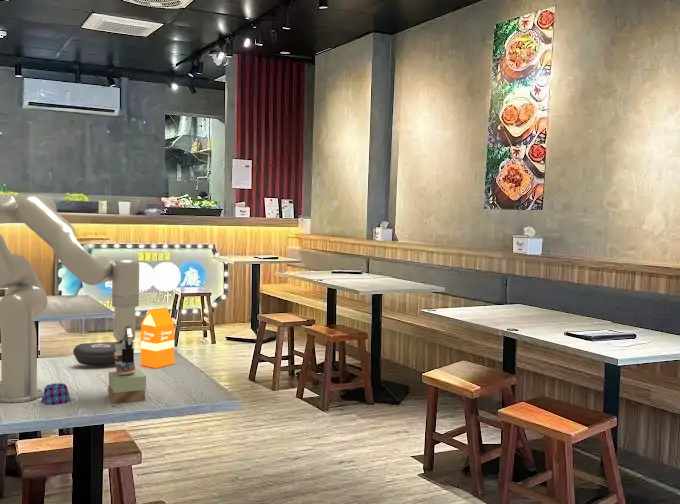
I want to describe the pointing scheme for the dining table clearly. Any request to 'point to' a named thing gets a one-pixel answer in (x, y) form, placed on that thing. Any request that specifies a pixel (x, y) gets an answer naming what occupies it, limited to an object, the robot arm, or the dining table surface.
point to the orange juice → (157, 338)
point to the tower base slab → (126, 396)
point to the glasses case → (95, 353)
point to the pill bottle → (121, 367)
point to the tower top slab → (127, 381)
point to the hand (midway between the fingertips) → (124, 358)
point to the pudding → (55, 395)
